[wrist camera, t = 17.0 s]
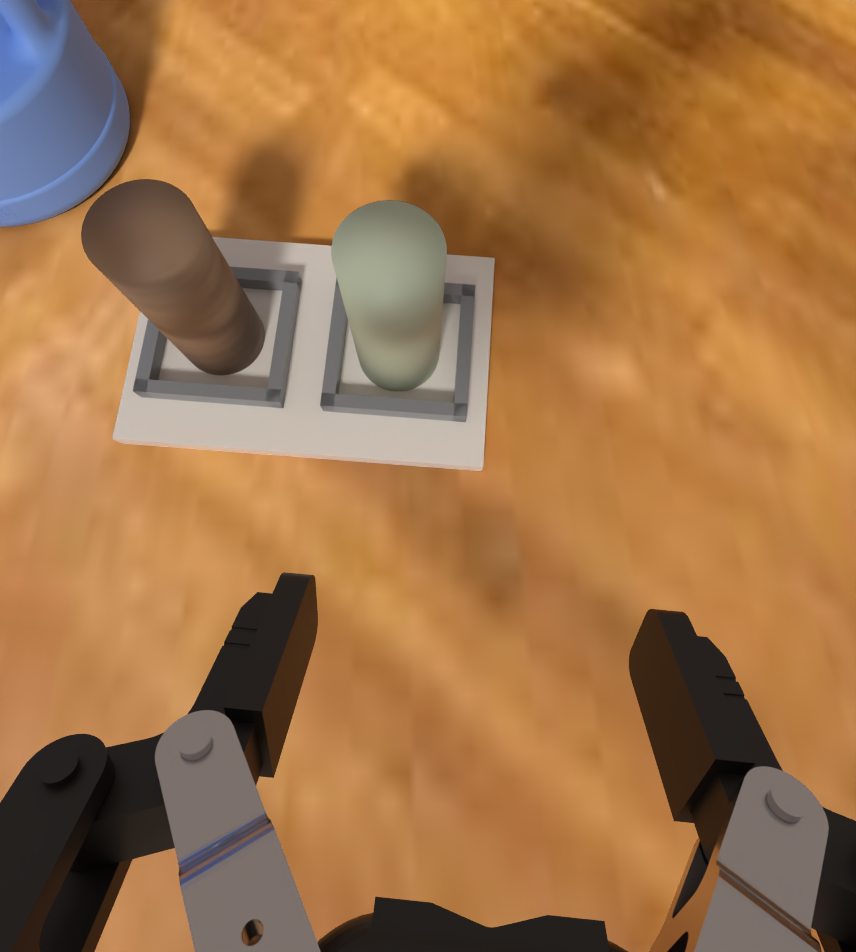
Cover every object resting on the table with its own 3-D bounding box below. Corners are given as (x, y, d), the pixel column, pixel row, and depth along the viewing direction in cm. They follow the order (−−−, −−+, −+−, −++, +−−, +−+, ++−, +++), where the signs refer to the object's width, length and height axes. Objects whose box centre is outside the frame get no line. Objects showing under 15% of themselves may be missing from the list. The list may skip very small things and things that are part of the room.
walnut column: (238, 287, 33) (162, 160, 24) (280, 346, 32) (219, 240, 23) (168, 329, 33) (61, 216, 23) (209, 390, 32) (115, 300, 22)
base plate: (492, 267, 35) (496, 247, 33) (481, 471, 32) (485, 463, 30) (164, 242, 35) (149, 222, 33) (121, 443, 32) (102, 433, 30)
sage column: (410, 302, 33) (405, 181, 23) (454, 363, 32) (469, 264, 23) (342, 343, 33) (309, 235, 23) (386, 406, 32) (371, 323, 22)
